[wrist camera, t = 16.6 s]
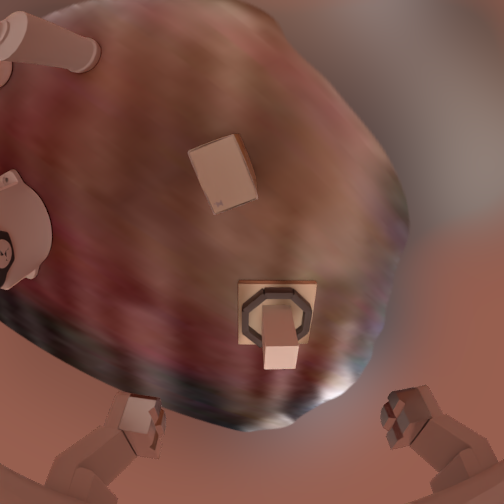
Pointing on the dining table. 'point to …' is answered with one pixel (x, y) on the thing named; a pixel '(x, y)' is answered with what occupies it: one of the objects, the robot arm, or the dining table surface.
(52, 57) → the bottle
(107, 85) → the dining table surface
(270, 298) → the board
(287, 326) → the carton
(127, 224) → the dining table surface
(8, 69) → the drinking glass
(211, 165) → the skincare box
